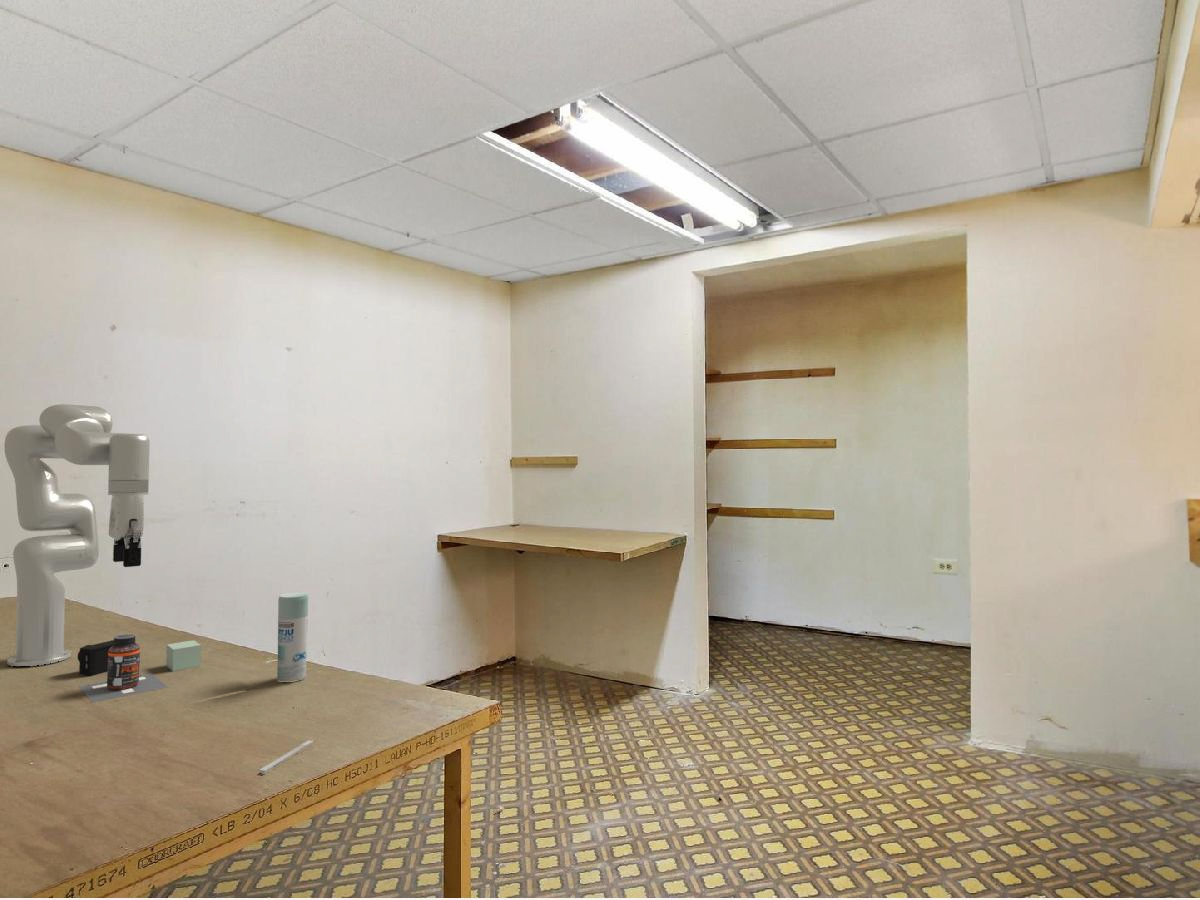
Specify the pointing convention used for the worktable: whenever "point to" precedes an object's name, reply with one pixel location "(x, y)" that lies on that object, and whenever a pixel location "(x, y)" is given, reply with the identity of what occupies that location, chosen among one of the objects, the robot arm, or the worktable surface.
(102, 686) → the board
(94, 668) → the digital camera
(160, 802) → the worktable surface
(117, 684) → the supplement bottle
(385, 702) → the worktable surface
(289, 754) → the light grey rod
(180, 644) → the sage block
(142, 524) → the robot arm
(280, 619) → the spray paint can
